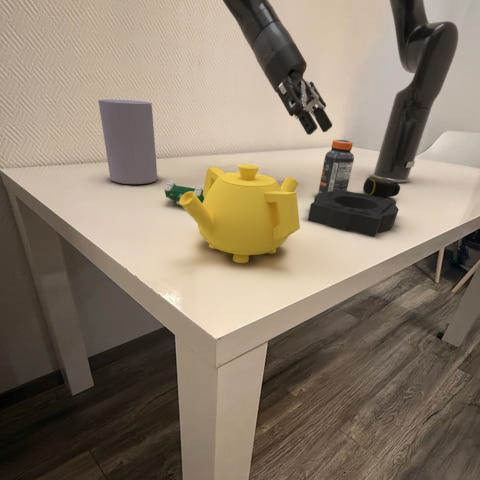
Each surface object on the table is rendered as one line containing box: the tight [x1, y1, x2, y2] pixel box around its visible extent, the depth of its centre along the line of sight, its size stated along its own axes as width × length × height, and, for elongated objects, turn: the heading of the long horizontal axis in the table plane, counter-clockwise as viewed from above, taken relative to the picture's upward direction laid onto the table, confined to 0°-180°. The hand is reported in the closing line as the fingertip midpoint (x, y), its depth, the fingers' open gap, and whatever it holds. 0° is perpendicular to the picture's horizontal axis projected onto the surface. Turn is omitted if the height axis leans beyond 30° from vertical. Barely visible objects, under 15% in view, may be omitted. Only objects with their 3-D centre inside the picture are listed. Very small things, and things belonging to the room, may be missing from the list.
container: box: [97, 98, 158, 186], centre depth 71 cm, size 10×10×15 cm
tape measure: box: [362, 176, 401, 199], centre depth 76 cm, size 7×7×4 cm
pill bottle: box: [317, 139, 355, 195], centre depth 70 cm, size 6×6×11 cm
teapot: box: [179, 163, 301, 264], centre depth 45 cm, size 20×18×11 cm
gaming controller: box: [164, 179, 204, 206], centre depth 62 cm, size 9×4×6 cm
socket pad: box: [307, 189, 400, 238], centre depth 62 cm, size 15×15×3 cm
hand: (321, 130), depth 68 cm, fingers open, 8 cm apart
